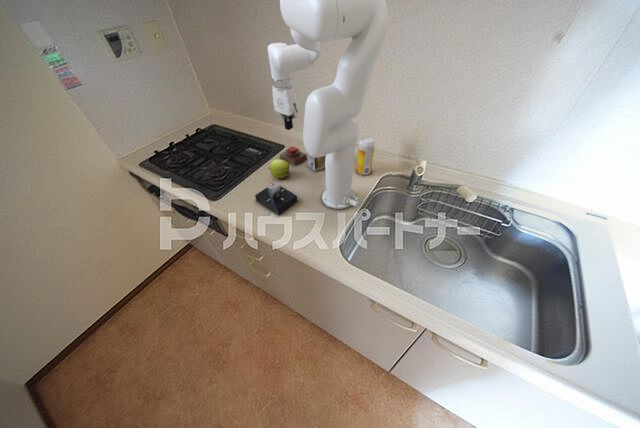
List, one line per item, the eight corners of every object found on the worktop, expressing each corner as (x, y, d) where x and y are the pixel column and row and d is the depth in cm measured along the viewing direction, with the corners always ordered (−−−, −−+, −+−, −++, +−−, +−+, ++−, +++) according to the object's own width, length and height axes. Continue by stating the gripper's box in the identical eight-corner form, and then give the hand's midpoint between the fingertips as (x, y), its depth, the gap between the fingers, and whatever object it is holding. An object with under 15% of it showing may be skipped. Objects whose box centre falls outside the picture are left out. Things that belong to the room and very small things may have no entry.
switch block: (306, 158, 114) (305, 150, 111) (294, 165, 110) (293, 158, 107) (292, 151, 119) (291, 144, 116) (280, 158, 115) (279, 151, 112)
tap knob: (283, 194, 91) (281, 183, 87) (275, 200, 88) (272, 189, 85) (276, 190, 93) (273, 179, 89) (267, 195, 91) (264, 184, 87)
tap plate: (297, 201, 92) (296, 195, 90) (278, 215, 87) (277, 209, 85) (275, 188, 99) (274, 182, 96) (256, 201, 93) (254, 194, 91)
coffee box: (323, 159, 113) (322, 126, 102) (331, 165, 109) (331, 131, 98) (307, 165, 110) (304, 132, 98) (315, 172, 106) (312, 138, 94)
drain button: (297, 151, 112) (297, 148, 111) (292, 154, 110) (292, 151, 109) (292, 149, 114) (292, 145, 113) (287, 152, 112) (286, 148, 111)
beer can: (367, 166, 107) (370, 135, 96) (373, 173, 103) (377, 142, 92) (354, 169, 106) (357, 138, 95) (360, 177, 102) (363, 145, 91)
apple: (270, 172, 107) (267, 156, 101) (290, 170, 107) (288, 155, 102) (269, 182, 101) (265, 167, 96) (290, 180, 102) (288, 165, 96)
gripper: (262, 82, 93) (271, 127, 106) (289, 88, 85) (295, 136, 98) (277, 77, 97) (283, 121, 110) (303, 83, 89) (307, 129, 102)
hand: (289, 128), depth 104 cm, fingers closed
